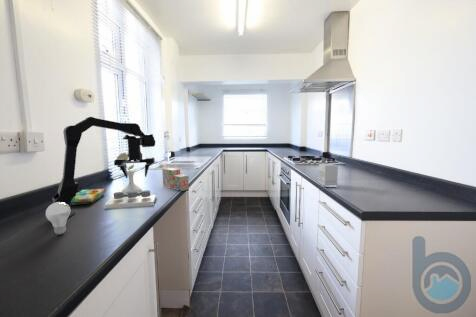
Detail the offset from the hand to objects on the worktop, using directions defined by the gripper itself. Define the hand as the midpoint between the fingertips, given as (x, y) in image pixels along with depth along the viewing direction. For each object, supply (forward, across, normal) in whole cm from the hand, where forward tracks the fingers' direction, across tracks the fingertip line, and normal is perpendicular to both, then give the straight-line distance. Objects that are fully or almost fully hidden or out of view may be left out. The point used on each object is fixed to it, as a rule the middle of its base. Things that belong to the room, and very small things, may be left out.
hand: (136, 177), depth 117 cm
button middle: (+10, +2, +3) cm, 10 cm away
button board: (+13, +2, +4) cm, 13 cm away
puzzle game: (+13, +27, -8) cm, 31 cm away
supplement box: (+15, -118, -2) cm, 119 cm away
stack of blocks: (+14, -19, -25) cm, 34 cm away
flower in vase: (+13, +7, -14) cm, 21 cm away
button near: (+9, +9, +2) cm, 13 cm away
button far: (+10, -4, +3) cm, 11 cm away
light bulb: (+12, +20, +35) cm, 42 cm away
